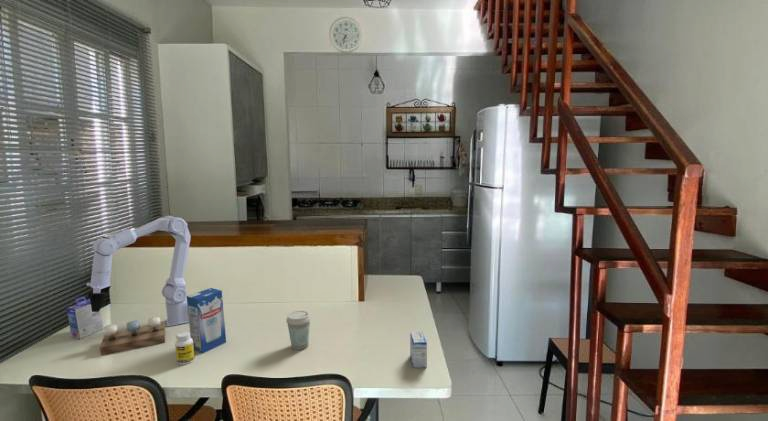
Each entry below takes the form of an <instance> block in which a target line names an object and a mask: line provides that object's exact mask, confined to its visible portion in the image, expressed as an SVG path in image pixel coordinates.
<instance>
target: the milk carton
mask: <svg viewBox="0 0 768 421" xmlns="http://www.w3.org/2000/svg"><path fill="white" fill-rule="evenodd" d="M186 299H187V306H188V316H189V323H188V324H189V332H190V338H192V340H193V348H194V352H198V353H200V354H205V353H207V352H209V351H211V350H214V349H215V348H218V347H220V346H221V345H223V344H225V343H227V337H226V336H227V335H226V324H225V322H226V321H225V315H224V302H223V290H222V289H217V288H214V287H213V288H212V287H210V288H206V289H204V290H200V291H198V292H195V293H192V294H189V295H187V296H186Z"/></svg>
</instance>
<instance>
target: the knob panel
mask: <svg viewBox="0 0 768 421" xmlns="http://www.w3.org/2000/svg"><path fill="white" fill-rule="evenodd" d="M165 343H166V324H165V322H164V323H163V322H162V323H161V324H160V325H159V326H157V330H156V331H153V327H149V325H148V326H143V327H142V326H141V327H140V328H139V329H138V330H136V334H135V335H132V331H127V329H126V330H120V331H118V332H117V333H116V334H114V338H113V339H110V337H109V336H107V335H105V334H104V335H103V338H102V341H101V343H100V346H99V351H100V352H99V353H100V356H101V357H103V356H106V355H112V354H117V353H122V352H126V351H131V350H135V349H136V350H137V349H141V348H145V347H149V346H154V345H160V344H165Z"/></svg>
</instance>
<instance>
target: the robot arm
mask: <svg viewBox="0 0 768 421" xmlns="http://www.w3.org/2000/svg"><path fill="white" fill-rule="evenodd" d="M188 225H189V224H188V223H187V221H185V220H184V219H183V218H182V217H177V216H176V217H175V216H172V215H165V216H163V217H158V218H157V219H155V220H153V221H151V222H147V223H146V224H144V225H141V226H139V227H137V228H135V229H133V230H132V229H130V228H129V229H128V228H127V229H126V228H122V229H119V231H118V232H116V233H113V234H111V235H110V234H108V235H106V238H105V237H100V238H98V239H96V240H95V241H94V242H93V244H92V245H91V248H92V250H93V253H94V254H93V260H92V268H91V277H90V282H87V283H86V286H87V287H90V288H91V289H92V291H88V292H87V296H88V298H89V300H90V301H91V309H92V312H99V311H100V310H101V307H103V306H104V303H105V300H106V296H107V294H108V292H109V290H110V289H111V274H112V267H113V266H112V264H113V255H114V254H115V253H116V251H117V250H120V249H122V248H125V247H127V246H130V245H131V244H134V243H136V240H137V239H138V238H141V237H144V236H146V235H150V234H152V233H154V232H157V231H163V232H166V233H168V234H170V235H171V236H172V237H173V239H175V244H174V250H173V255H172V261H171V267H170V273H169V277H168V278H167V279H166V281H165V283H164V286H163V288H162V289H161V294H162V296H163V297H164V298H165V309H166V327H173V326H176V325H177V326H178V325H182V324H189V316H188V306H187V297H186V296H188V291H187V283H186V281H185V273H186V268H187V262H188V255H189V248H190V243H191V232H190V230H189V227H188Z"/></svg>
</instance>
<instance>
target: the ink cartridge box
mask: <svg viewBox="0 0 768 421" xmlns="http://www.w3.org/2000/svg"><path fill="white" fill-rule="evenodd" d="M74 301H75V303H76V304H74V305H72V306H68V307H67V308H65V309H66V313H67V318H68V319H67V320H68V324H69V331H70V336H71V338H72V339H78V340H80V339H83V338H85V337H87V336H90V335H92V334H94V333H97V332H99V331H101V330H104V323H103V317H102V310H101V309H100V311H99V312H92V309H91V301H90V299H87V298H86V297H85V296H80V297H77V298H75V299H74Z"/></svg>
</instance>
